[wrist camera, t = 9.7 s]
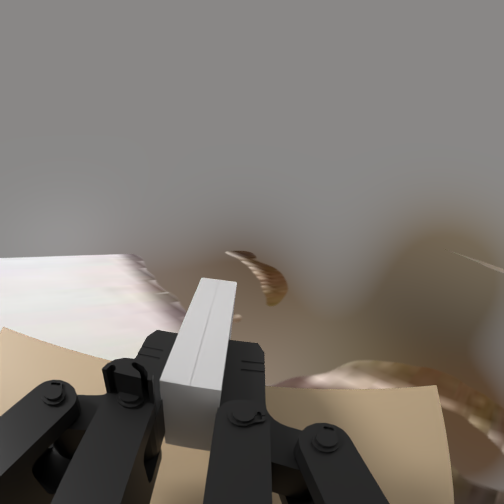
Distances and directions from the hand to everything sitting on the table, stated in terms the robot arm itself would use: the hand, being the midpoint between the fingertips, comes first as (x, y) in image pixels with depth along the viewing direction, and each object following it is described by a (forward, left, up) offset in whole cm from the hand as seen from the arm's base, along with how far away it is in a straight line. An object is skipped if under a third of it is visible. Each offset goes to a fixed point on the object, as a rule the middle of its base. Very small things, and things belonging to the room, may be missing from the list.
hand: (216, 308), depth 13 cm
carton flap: (+6, -8, -5) cm, 11 cm away
